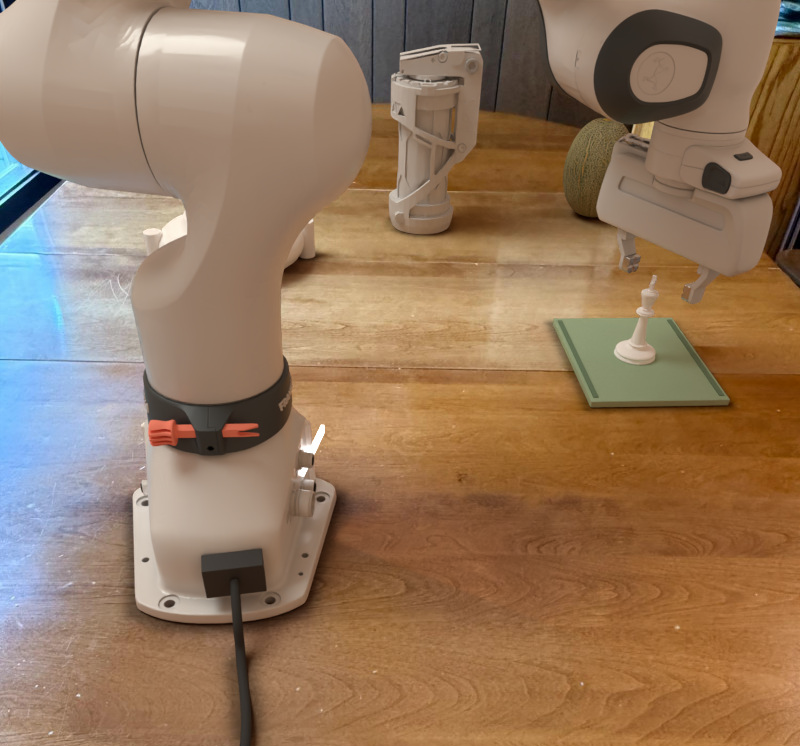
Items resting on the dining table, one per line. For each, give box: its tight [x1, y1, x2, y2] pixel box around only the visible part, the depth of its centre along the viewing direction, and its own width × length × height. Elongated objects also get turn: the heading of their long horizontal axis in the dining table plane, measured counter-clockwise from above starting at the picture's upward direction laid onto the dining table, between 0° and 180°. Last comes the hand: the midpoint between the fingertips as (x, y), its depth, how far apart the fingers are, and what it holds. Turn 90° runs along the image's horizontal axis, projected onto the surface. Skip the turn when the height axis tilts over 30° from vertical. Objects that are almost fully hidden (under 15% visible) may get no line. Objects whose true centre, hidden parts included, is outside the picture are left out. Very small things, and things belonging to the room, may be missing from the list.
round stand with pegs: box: [142, 210, 316, 270], centre depth 111 cm, size 24×24×7 cm
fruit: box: [562, 117, 630, 218], centre depth 126 cm, size 11×11×15 cm
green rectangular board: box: [551, 317, 731, 408], centre depth 94 cm, size 20×16×1 cm
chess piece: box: [614, 274, 660, 365], centre depth 91 cm, size 5×5×10 cm
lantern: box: [388, 43, 484, 235], centre depth 118 cm, size 13×10×25 cm
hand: (658, 285), depth 87 cm, fingers open, 8 cm apart
